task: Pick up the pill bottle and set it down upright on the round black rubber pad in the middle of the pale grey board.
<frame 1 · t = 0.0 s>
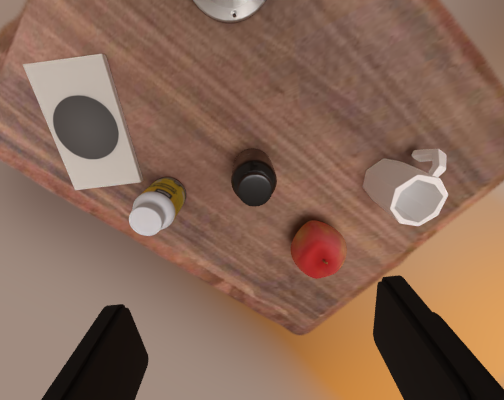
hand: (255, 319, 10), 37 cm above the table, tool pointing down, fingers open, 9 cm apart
supplement bottle: (252, 166, 45), on the table
board: (91, 127, 42), on the table
pad: (87, 128, 41), resting on board
apple: (310, 232, 51), on the table
pill bottle: (169, 192, 47), on the table
mug: (391, 171, 46), on the table
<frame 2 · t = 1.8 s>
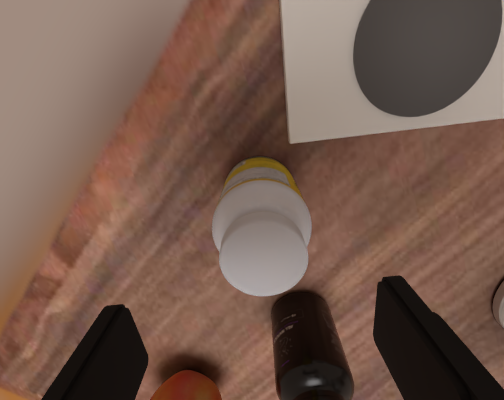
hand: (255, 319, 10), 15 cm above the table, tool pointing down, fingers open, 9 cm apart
supplement bottle: (299, 311, 30), on the table
board: (413, 47, 19), on the table
pad: (423, 44, 18), resting on board
apple: (192, 375, 34), on the table
pill bottle: (259, 187, 24), on the table
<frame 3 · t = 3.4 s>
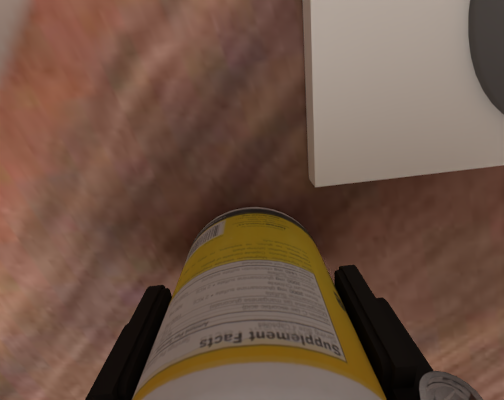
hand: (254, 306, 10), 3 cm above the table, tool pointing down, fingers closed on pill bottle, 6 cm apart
pill bottle: (253, 255, 13), on the table, touching gripper
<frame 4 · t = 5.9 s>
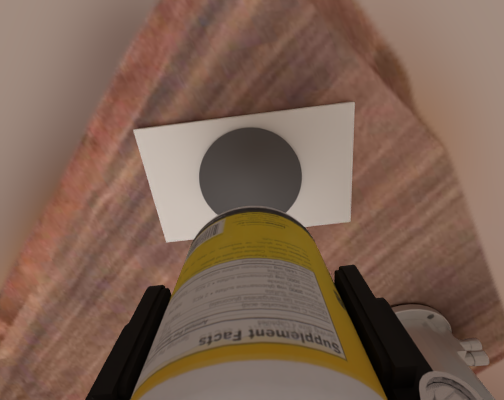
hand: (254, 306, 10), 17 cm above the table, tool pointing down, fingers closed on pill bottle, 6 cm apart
board: (250, 175, 26), on the table
pad: (250, 179, 25), resting on board
pill bottle: (253, 254, 13), point 14 cm above the table, touching gripper
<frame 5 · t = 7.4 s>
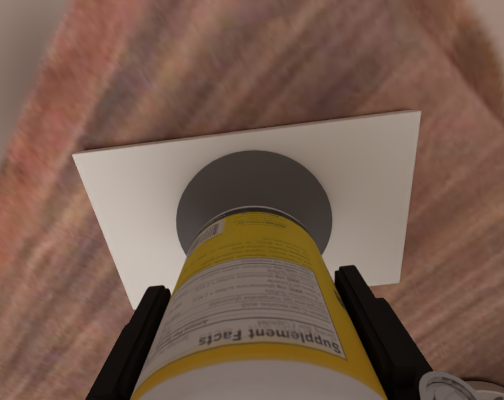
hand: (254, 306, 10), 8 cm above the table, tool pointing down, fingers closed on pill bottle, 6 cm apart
board: (253, 218, 18), on the table
pad: (254, 226, 17), resting on board
pill bottle: (253, 254, 13), point 5 cm above the table, touching gripper
when the fingers open (6 cm above the table, at t = 8.4 s): pill bottle drops 1 cm, resting on pad.
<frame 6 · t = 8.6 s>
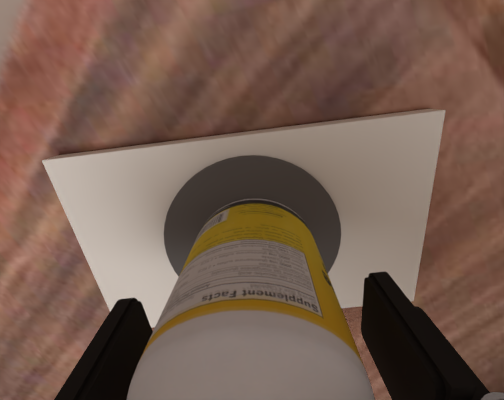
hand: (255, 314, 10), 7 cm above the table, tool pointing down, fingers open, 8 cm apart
board: (252, 230, 16), on the table
pad: (252, 240, 15), resting on board
pill bottle: (255, 244, 14), point 2 cm above the table, touching pad
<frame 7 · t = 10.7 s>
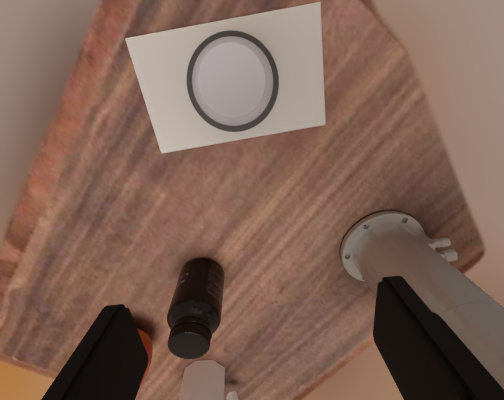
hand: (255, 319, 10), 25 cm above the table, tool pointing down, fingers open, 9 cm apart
supplement bottle: (202, 274, 40), on the table
board: (233, 85, 29), on the table
pad: (233, 84, 28), resting on board
pill bottle: (234, 85, 28), point 1 cm above the table, touching pad
mug: (213, 374, 50), on the table
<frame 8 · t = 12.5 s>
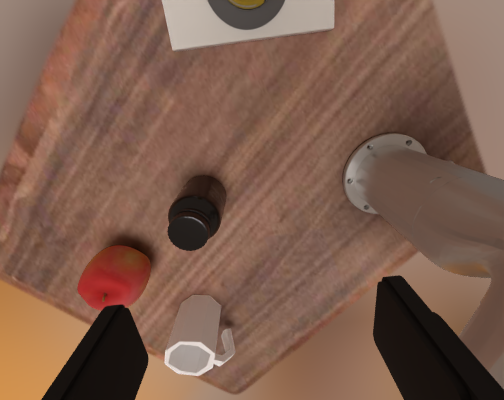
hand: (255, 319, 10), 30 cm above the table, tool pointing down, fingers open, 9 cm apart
supplement bottle: (205, 194, 40), on the table
apple: (132, 256, 45), on the table
mug: (209, 313, 50), on the table
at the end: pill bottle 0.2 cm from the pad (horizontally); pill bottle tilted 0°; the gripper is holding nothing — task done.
